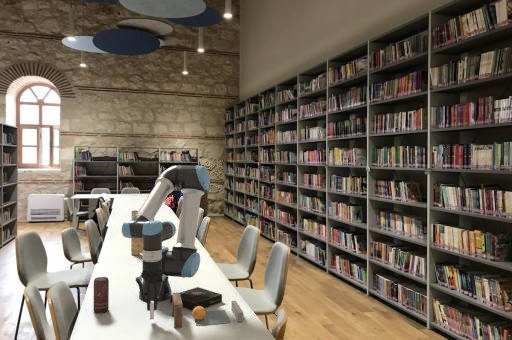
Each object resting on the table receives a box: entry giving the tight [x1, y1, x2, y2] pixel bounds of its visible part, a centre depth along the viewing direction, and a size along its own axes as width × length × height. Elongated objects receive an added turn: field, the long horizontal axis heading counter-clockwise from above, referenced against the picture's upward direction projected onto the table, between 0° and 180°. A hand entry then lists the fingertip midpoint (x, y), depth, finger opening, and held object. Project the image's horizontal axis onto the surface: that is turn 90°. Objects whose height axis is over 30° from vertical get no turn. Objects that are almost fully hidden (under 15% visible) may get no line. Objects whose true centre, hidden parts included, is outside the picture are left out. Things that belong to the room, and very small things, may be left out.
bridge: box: [171, 292, 183, 329], centre depth 169 cm, size 3×14×9 cm, turn 15°
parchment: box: [130, 209, 155, 256], centre depth 273 cm, size 23×6×30 cm, turn 43°
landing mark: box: [193, 309, 231, 327], centre depth 173 cm, size 14×14×1 cm
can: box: [93, 276, 110, 314], centre depth 178 cm, size 6×6×14 cm
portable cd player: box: [169, 286, 223, 311], centre depth 191 cm, size 16×17×4 cm
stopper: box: [231, 300, 244, 323], centre depth 175 cm, size 14×2×4 cm, turn 15°
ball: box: [191, 306, 206, 320], centre depth 170 cm, size 6×6×6 cm
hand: (151, 318), depth 166 cm, fingers closed
